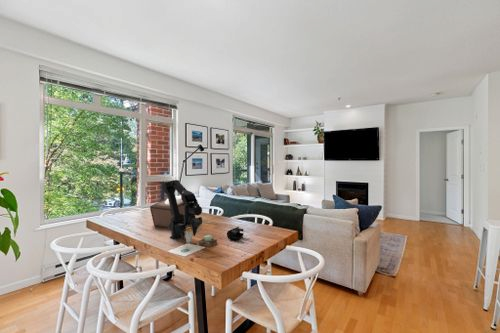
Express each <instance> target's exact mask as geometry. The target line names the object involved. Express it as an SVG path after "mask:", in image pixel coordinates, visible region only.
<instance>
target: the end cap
mask: <svg viewBox="0 0 500 333" xmlns="http://www.w3.org/2000/svg"><path fill="white" fill-rule="evenodd" d="M226 237H227V239H228V240H230V241H232V242H238V241H240V240H242V239H244V228H240V227H239V226H236V227H234V228H232V229H229V230H227V232H226Z"/></svg>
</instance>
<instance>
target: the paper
mask: <svg viewBox="0 0 500 333" xmlns="http://www.w3.org/2000/svg"><path fill="white" fill-rule="evenodd" d="M205 248H206V246H202V245H199V244H193V243H185V244H183V245H180V246H177V247H174V248H173V249H169V250H167V251H166V253H170V254H173V255H176V256H180V257H184V258H186V257H187V256H191V255H192V254H195V253H197V252H199V251H201V250H203V249H205Z"/></svg>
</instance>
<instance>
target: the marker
mask: <svg viewBox="0 0 500 333" xmlns="http://www.w3.org/2000/svg"><path fill="white" fill-rule="evenodd" d="M185 238H186V239H185V240H186V241H185V244H187V243H189V244H193V230H192V226H187V227H186V231H185Z"/></svg>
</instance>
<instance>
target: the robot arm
mask: <svg viewBox="0 0 500 333" xmlns="http://www.w3.org/2000/svg"><path fill="white" fill-rule="evenodd" d="M161 187H162V190H163V192H164V193H165V194H166V196H167V199H168V200H169V204H170V208H171V212H172V217H171V223H170V224H169V228H168V230H171V231H170V232H171V233H170V234H171V236H169V239H174V240H178V239H182V240H183V241H185V240H186V239H185V238H186V228H187V227H192V236H194V237H195V236H196V234H197V231H198V229H199V227H200V226H202V224H203V217H202V216H201V214H202V213H203V208H202V206H200V204H199V202H198V199H197V196H196V195H195V194H194V193H193V191H191V190H190V191H189V190H188V189H186V187H185V186H184V185H183V184H182V183H181V182H180V180H178V179H175V180H174V179H173V180H170V181H164V182H163V183H162V185H161ZM175 192H177V193H178V194H179V196H181V199H182V201H183V202H184V204H183V206H184V215H183V214H180V213H179V209H178V205H177V201H176V197H175V196H176V193H175ZM189 202H190V203H189ZM196 216H199V217H196Z"/></svg>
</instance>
